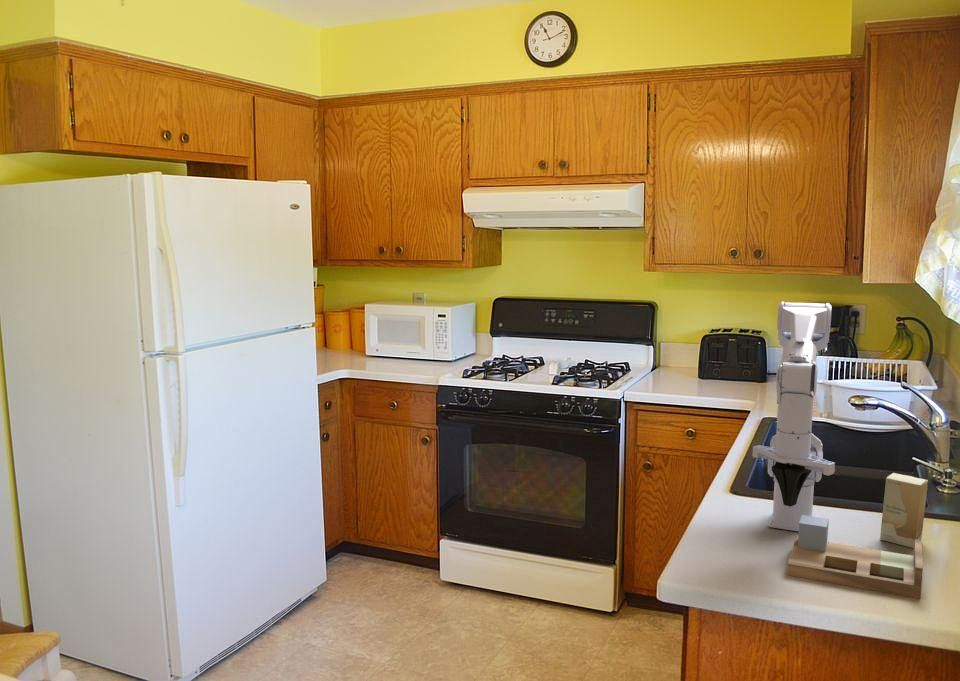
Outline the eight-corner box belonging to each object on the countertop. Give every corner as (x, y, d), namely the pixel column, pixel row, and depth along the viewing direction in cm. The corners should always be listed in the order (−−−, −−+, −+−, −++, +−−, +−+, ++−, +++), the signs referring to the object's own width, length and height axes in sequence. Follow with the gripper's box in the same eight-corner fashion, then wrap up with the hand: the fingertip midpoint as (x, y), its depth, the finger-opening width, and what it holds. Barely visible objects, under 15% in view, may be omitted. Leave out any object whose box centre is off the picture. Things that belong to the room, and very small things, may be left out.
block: (800, 538, 152) (801, 514, 151) (827, 542, 150) (828, 518, 149) (797, 547, 148) (799, 522, 147) (825, 551, 146) (826, 527, 145)
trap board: (795, 547, 152) (797, 521, 152) (919, 567, 144) (921, 540, 143) (786, 574, 141) (788, 546, 140) (920, 598, 132) (922, 568, 131)
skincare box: (879, 540, 156) (883, 477, 154) (886, 533, 159) (891, 471, 157) (916, 549, 152) (921, 484, 150) (923, 542, 155) (928, 478, 153)
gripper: (744, 425, 149) (741, 498, 151) (821, 442, 138) (817, 521, 140) (766, 419, 153) (762, 490, 155) (842, 435, 142) (837, 511, 144)
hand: (789, 504), depth 148 cm, fingers closed
